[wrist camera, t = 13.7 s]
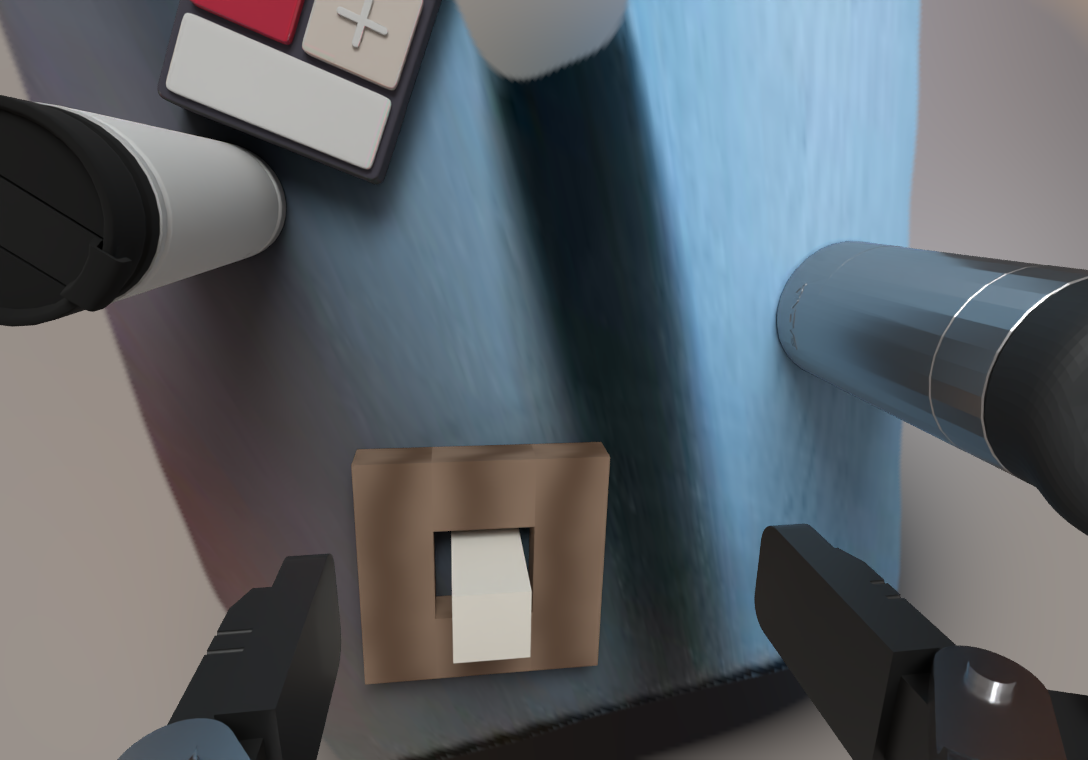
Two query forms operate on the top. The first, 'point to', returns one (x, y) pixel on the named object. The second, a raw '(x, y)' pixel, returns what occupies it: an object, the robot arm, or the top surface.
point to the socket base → (471, 504)
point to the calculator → (302, 73)
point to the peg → (490, 596)
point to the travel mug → (118, 209)
